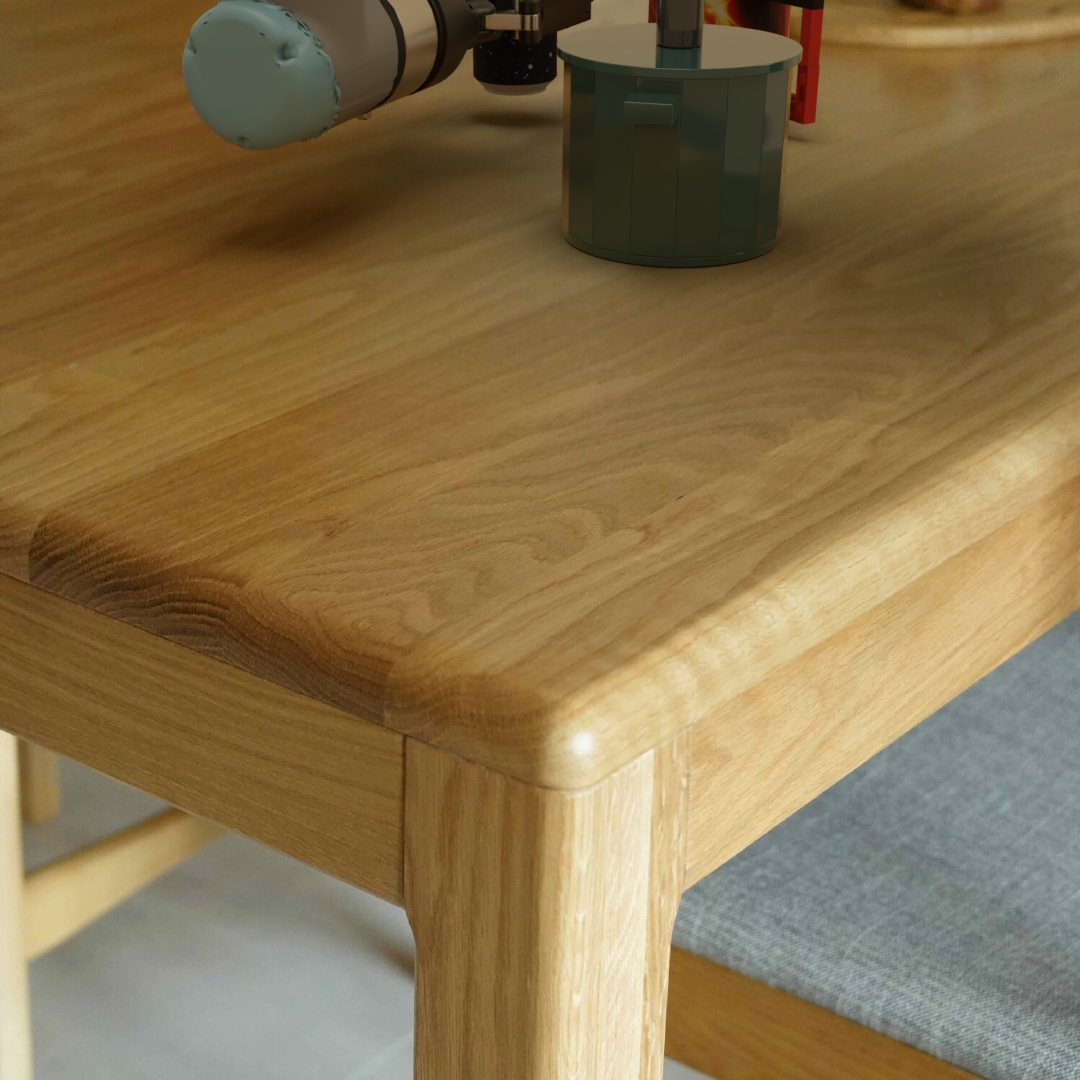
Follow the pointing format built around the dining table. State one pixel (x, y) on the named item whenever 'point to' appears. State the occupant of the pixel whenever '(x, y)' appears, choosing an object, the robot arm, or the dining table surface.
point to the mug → (768, 8)
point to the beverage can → (515, 65)
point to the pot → (673, 166)
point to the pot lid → (679, 47)
